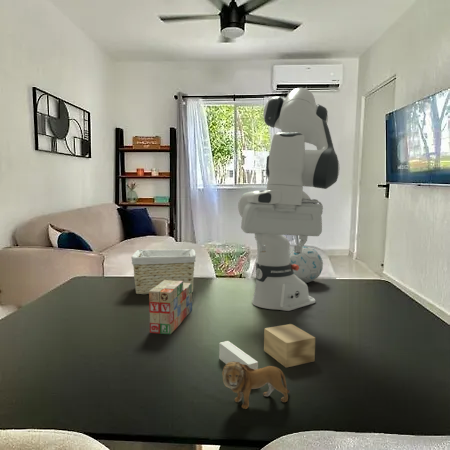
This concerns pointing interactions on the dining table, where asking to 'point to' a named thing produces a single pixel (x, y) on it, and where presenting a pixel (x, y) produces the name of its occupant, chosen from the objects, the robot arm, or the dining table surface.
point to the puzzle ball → (307, 264)
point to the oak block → (289, 345)
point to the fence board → (235, 355)
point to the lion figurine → (253, 380)
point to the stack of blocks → (169, 305)
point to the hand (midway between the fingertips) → (279, 252)
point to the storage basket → (162, 267)
